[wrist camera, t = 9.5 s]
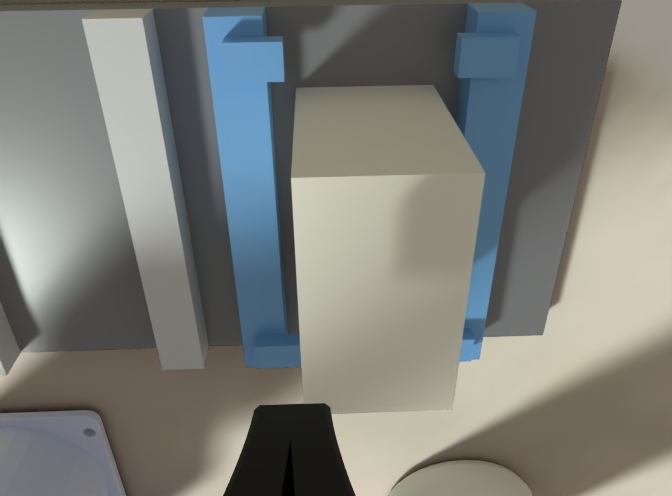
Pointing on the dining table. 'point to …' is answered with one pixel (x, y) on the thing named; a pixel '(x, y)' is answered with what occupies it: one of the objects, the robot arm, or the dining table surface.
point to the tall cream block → (381, 245)
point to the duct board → (262, 159)
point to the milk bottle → (462, 480)
